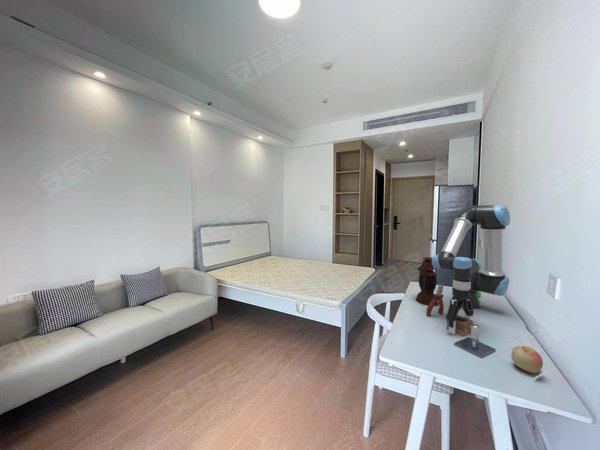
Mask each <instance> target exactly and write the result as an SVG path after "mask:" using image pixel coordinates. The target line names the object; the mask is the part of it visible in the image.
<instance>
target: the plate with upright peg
mask: <svg viewBox="0 0 600 450" xmlns="http://www.w3.org/2000/svg"><path fill="white" fill-rule="evenodd" d="M453 346H456V347H458V348H460V349H461V350H463V351H466V352H468V353H470V354H471V355H475V356H476V357H479V358H480V359H483V358H484V357H487V356H489V355H490V354H493V353H494V352H496V348H494V347H492V346H489V345H487V344H485V343H484V342H481V341H480V326H479V325H477V324H474V323H473V324H472V325H471V333H470V337H469V336H467V337H465V338H462V339H460V340H457V341H455V342H454V344H453Z"/></svg>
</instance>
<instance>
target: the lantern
mask: <svg viewBox="0 0 600 450" xmlns="http://www.w3.org/2000/svg"><path fill="white" fill-rule="evenodd" d="M422 259H423V261H422V262H421V265H420V267H418V268H417V270H418V274H419V277H418V286H419V288H420V292H418V294H417V295H416V298H415V301H416V302H417V303H418V304H421V305H424V306H427V307H428V306H429V304H430V303H431V301H432V299H433V298H434V296H433V295H435V294H436V293H434V292H435V290H436V289H437V288H436V287H437V275H438V274H437V273H436V271H434V270H436V267H434V266H433V265H432V257H431V256H424V257H422ZM437 306H438V307H439V302H438V301H437V302H436V304H435V305H434V307H437Z"/></svg>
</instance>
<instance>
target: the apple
mask: <svg viewBox="0 0 600 450" xmlns="http://www.w3.org/2000/svg"><path fill="white" fill-rule="evenodd" d="M510 353H511V355H510V356H511V360H512V361H513V364H514V365H515V366H517V367H518V368H520V369H521V370H524V371H525V372H527V373H531V374H536V373H538V372H540V371H541V370H542V368H543V366H544V361H543V358H542V356H541V354H539V353H538V352H537V350H535V349H534V348H532V347H530V346H527V345H518V346H514V347H513V348H512V350H511V352H510Z"/></svg>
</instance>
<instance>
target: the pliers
mask: <svg viewBox="0 0 600 450" xmlns="http://www.w3.org/2000/svg"><path fill="white" fill-rule="evenodd" d="M444 285H445V283H444V282H442V283H440V282H439V284H438V286H437V288H436V289H437V290H436V293H434V294H435V295H433V296H434V298H433V299H432V301H431V303H430V304H429V306H427V308H426V316H428V317H430V316H431V315H432V311H433V308H434V307H435V306H434V305H435V304H436V302H437V301H438V303H439V305H438V310H437V313H438V314H439V315H442V314H443V313H444V309H445V306H444V301H443V298H444V294H443V292H444V290H443V289H444Z"/></svg>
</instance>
